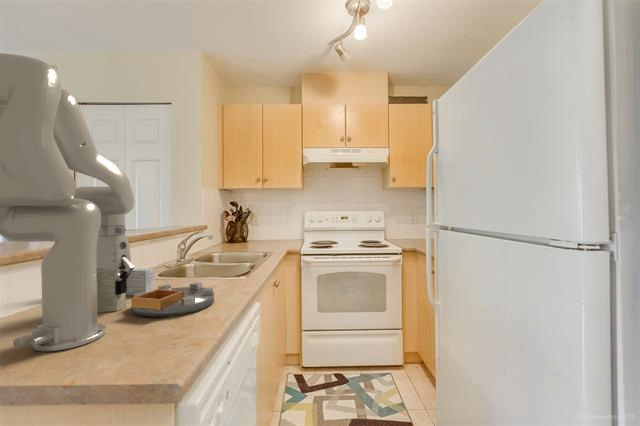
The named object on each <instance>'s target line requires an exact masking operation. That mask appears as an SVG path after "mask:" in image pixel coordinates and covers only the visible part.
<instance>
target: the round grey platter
mask: <svg viewBox="0 0 640 426" xmlns="http://www.w3.org/2000/svg"><path fill="white" fill-rule="evenodd" d="M214 301H215V291H214V286H213V287H203V282H192V283H189V286H184V287H173V288H172V286H171V284H169V283H167V284H162V285H158V287H157V289H154V290H153V291H150V292H148V293H146V292H141V293H136V294H135V295H133V297H131V308H132V312H133V314H135V315H137V316H140V317H148V318H161V317H172V316H180V315H185V314H189V313H193V312H197V311H200V310H202V309H205V308H207V307H209V306H211V305H212V304H213V303H214Z"/></svg>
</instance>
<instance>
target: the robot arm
mask: <svg viewBox="0 0 640 426" xmlns="http://www.w3.org/2000/svg"><path fill="white" fill-rule="evenodd" d="M71 171H73V172H75V173H80V174H83V175H85V176H88V177H91V178H93V179H97V180H99V181H101V182H102V183H104V184H106V185H107V186H79V187H77V184H76V181H75V178H74V176H73V174H72V172H71ZM134 207H135V197H134V192H133V189H132V186H131V183H130V180H129V178H128V176H127V174H126V173H125V171H124V170H123V169H122V168H121V167H120V166H119V165H117V164H116V163H115V162H113V161H112V160H111V159H110V158H108V157H107V156H106V155H104V154H102V153H101V152H100V151H98V150H97V148H96V145H95V142H94V140H93V138H92V135H91V132H90V130H89V127H88V124H87V123H86V120H85V118H84V116H83V112H82V109H81V107H80V105H79V103H78V101H77V99H76V98H75V96H74V95H73V94H72V93H71V92H70V91H67V90H66V89H64V88H62V85H61V79H60V76H59V75H58V73H57V71H56V70H55V68H54V67H53V66H51V65H50V64H49V63H47V62H45V61H43V60H40V59H38V58H36V57H35V58H34V57H30V56H25V55H19V54H14V53H13V54H12V53H3V52H0V236H1V237H2V238H4V239H6V240H7V241H10V242H16V243H17V242H18V243H33V242H37V243H38V242H39V243H41V242H48V243H50V242H52V243H53V245H52V247H51V248H50V249H49V250H48V251H47V253H46V254H45V255H44V256H43V258H42V261H41V265H40V272H41V324H39V325H36V326H35V327H36V328H35V330H34V331H32V333H30V334H25V335H22V336H20V337H17V338H14V339H13V341H12V345H13V347H14V348H15V349H19V348H22V347H25V346H27V345H31V346H32V348H33V349H34V350H35V351H39V352H55V351H64V350H68V349H73V348H77V347H80V346H83V345H86V344H89V343H92V342H94V341H96V340H98V339H100V338H101V337H103V336H104V335H105V334H106V333H107V327H106V325H104V324H102V323H99V322H98V316H99V315H98V312H97V269H99V270H106V271H111V272H114V274H115V276H116V279H117V281H115V294H116V295H119V294H123V293H126V292H127V279H128V276H129V275H130V274H131V272H132V270H133V269H134V268H135V265H134V264H133V263H132V262H131V261H132V259H131V258H132V257H131V248H130V244H129V243H130V241H129V238H128V236H126V222H125V221H126V220H125V219H126V216H125V215H127V214H129V213H130V212H131V211H132V210H133V209H134ZM119 268H121V269H119ZM119 272H122V274H121V275H120V273H119Z"/></svg>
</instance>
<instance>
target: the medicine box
mask: <svg viewBox="0 0 640 426" xmlns="http://www.w3.org/2000/svg"><path fill="white" fill-rule="evenodd" d="M154 271H155V270H154V267H152V268H151V267H134V269H133V270H132V272H131V274H130V275H129V276H128V279H127V292H126V293H125V296H134V295H135V294H136V293H141V292H146V293H148V292H150V291H153V290H155V277H154V276H155V272H154Z"/></svg>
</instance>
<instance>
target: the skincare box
mask: <svg viewBox="0 0 640 426" xmlns="http://www.w3.org/2000/svg"><path fill="white" fill-rule="evenodd" d="M119 269H121V268H119ZM119 273H120V275H121V274H122V272H119ZM115 281H117V279H116V276H115V274H114V272H111V271H106V270H99V269H97V313H99V312H100V313H101V312H118V311H121V310H122V309H124V308H125V307H127V300H126V299H127V298H126V296H127V295H125V293H123V294H119V295H116V294H115Z"/></svg>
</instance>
